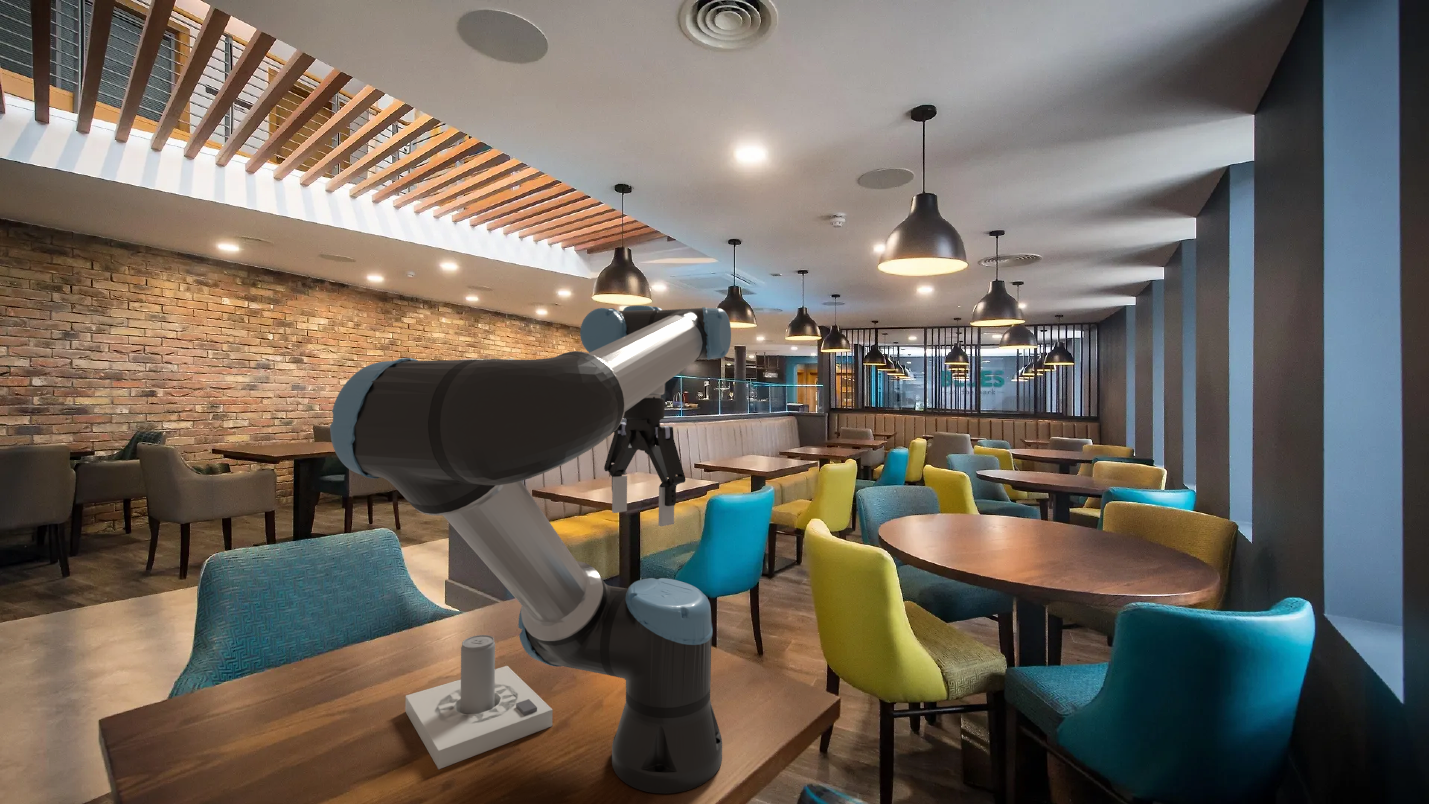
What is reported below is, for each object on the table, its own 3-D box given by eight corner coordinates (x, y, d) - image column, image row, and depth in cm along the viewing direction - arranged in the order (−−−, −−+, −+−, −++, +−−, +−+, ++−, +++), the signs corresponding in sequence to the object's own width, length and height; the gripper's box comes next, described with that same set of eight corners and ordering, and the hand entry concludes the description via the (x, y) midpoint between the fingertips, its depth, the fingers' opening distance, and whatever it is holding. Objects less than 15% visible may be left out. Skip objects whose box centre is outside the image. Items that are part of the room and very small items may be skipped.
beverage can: (482, 729, 86) (483, 649, 86) (453, 725, 87) (454, 646, 87) (500, 712, 91) (501, 636, 91) (473, 708, 92) (473, 633, 92)
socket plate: (552, 725, 87) (552, 705, 87) (438, 769, 77) (438, 746, 77) (507, 679, 101) (507, 662, 101) (405, 711, 91) (405, 691, 91)
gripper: (707, 397, 95) (706, 527, 95) (619, 395, 113) (618, 504, 113) (672, 397, 90) (670, 534, 90) (586, 395, 108) (585, 509, 108)
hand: (641, 518), depth 102 cm, fingers open, 13 cm apart
